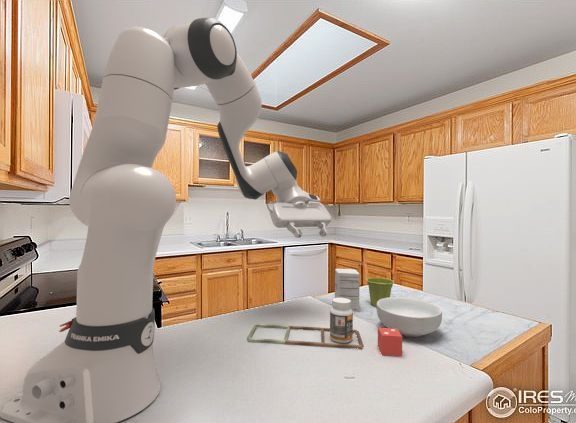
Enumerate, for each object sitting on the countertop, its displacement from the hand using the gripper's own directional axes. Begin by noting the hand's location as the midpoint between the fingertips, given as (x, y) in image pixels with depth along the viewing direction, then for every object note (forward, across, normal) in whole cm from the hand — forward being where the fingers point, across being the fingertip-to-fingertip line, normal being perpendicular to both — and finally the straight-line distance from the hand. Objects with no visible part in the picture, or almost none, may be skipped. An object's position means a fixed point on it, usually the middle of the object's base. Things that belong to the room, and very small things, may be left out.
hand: (312, 235), depth 84 cm
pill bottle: (+27, 0, +9) cm, 28 cm away
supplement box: (+15, +19, +21) cm, 32 cm away
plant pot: (+18, +31, +18) cm, 40 cm away
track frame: (+22, -7, +13) cm, 27 cm away
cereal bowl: (+31, +20, +5) cm, 37 cm away
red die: (+34, +5, +2) cm, 35 cm away
